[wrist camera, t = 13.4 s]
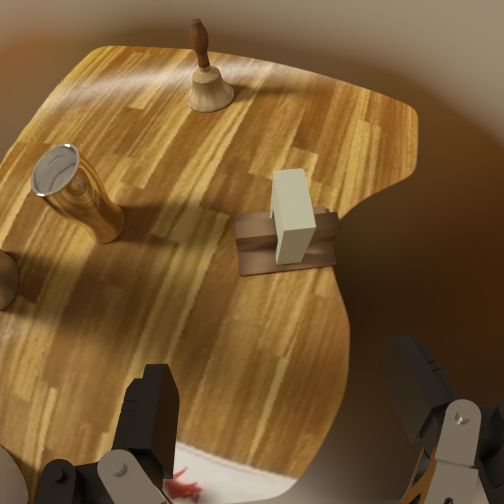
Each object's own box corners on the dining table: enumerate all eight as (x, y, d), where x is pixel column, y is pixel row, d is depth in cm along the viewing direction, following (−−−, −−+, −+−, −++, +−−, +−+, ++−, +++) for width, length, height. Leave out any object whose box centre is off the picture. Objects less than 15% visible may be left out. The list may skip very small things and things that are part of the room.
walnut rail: (240, 276, 39) (238, 264, 35) (234, 217, 42) (231, 198, 37) (335, 265, 40) (345, 252, 35) (323, 208, 42) (331, 189, 37)
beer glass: (98, 198, 43) (48, 139, 29) (136, 206, 43) (91, 143, 29) (79, 240, 41) (19, 192, 27) (118, 252, 41) (61, 202, 26)
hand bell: (208, 120, 48) (194, 40, 32) (176, 99, 49) (156, 26, 34) (244, 93, 49) (240, 16, 34) (211, 75, 51) (200, 3, 36)
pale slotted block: (300, 262, 39) (316, 227, 29) (276, 265, 39) (283, 230, 29) (292, 215, 41) (303, 168, 31) (269, 217, 41) (273, 170, 31)
